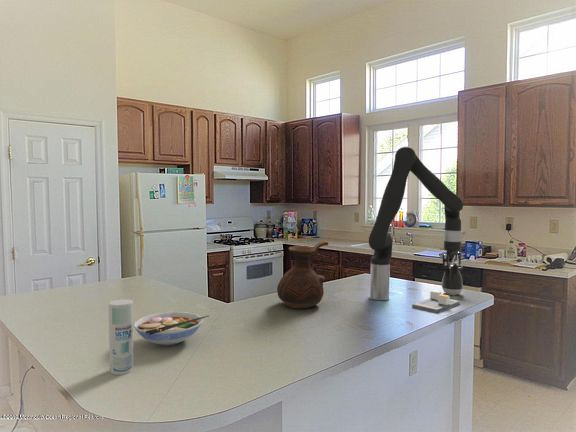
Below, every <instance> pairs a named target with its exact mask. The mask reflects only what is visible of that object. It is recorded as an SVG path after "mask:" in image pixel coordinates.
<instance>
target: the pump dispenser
mask: <svg viewBox="0 0 576 432" xmlns="http://www.w3.org/2000/svg"><path fill="white" fill-rule="evenodd" d="M450 269H451V273H450V277H447V276H445V272H444V273H443V276H442V280H441V288H442V291H443V292H444V294H445V295H448V296H458V295H460V294H461V293H462V290H463V289H464V285H463V283H464V282H463V276H462V273H461V270H463V269H464V267H463V266H460V267H459V266H458V274H457V275H455V274H453V264H452V265H451V268H450Z"/></svg>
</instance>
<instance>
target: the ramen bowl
mask: <svg viewBox="0 0 576 432" xmlns="http://www.w3.org/2000/svg"><path fill="white" fill-rule="evenodd" d="M208 317H210V315H205V316H204V315H203V316H200V315H198V314H197V313H193V312H186V311H167V312H160V313H158V312H157V313H152V314H149V315H146V316H143V317H140V318H138V319H137V320H135V321H134V322H133V328H135V330H136V332H137V333H138V334H139V335H140V336H141V337H142V338H143V339H144V340H145V341H147V342H148V343H152V344H156V345H159V346H167V347H168V346H169V347H170V346H174V345H177V344H179V343H181V342H184V341H186V340H188V339H189V338H191V337H192V336H194V335H195V333H196V332H197V331H198V330H199V328H200V326H201V325H202V324H203V319H205V318H208Z"/></svg>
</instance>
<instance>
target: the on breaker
mask: <svg viewBox="0 0 576 432" xmlns="http://www.w3.org/2000/svg"><path fill="white" fill-rule="evenodd" d="M429 292H430V295H429V298H431V299H436V300H438V295H440V294H442V291H439V290H435V289H433V290H430V291H429Z"/></svg>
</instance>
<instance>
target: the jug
mask: <svg viewBox="0 0 576 432" xmlns="http://www.w3.org/2000/svg"><path fill="white" fill-rule="evenodd" d="M323 246H324V247H325V246H329V241H328V240H326V239H322V240H320V241H318V243H317V244H316V245H313V246H308V245H294V246H289V247H288V251H289V252H291V253H293V256H294V264H293V266H292V267H291V268H290V269H289V270H288V271H286V272H285V273H284V274H283V276H282V277H281V279H280V280H279V282H278V284H277V288H276V289H277V291H276V292H277V296H278V299H280V301H281V302H283V303H284V304H285V306H287V307H289V308H291V309H298V310H299V309H309V308H312V307H314V306H316V305H318V304H319V303H320V302H322V299H323V297H324V293H325V292H324V280H325V275H321V274H317V273H316V271H315V270H313V269H312V266H311V262H310V260H311V256H313V255H314V254H316V253H317V252H318V251H319V249H320V248H321V247H323Z"/></svg>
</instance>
